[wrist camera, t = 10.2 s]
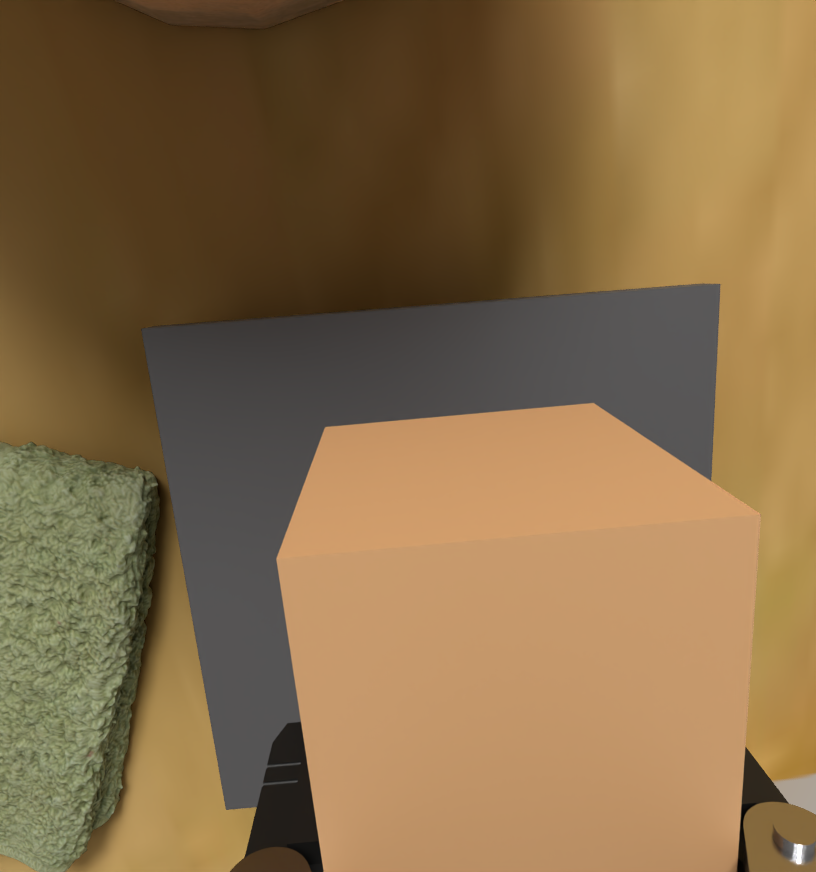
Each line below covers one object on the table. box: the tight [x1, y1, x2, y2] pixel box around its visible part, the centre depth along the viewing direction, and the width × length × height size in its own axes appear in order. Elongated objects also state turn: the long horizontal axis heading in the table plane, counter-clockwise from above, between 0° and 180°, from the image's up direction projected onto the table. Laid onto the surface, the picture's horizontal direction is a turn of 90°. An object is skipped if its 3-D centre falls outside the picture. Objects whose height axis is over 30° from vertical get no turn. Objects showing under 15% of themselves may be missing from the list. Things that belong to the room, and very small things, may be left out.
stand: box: [141, 284, 720, 810], centre depth 22 cm, size 16×16×5 cm
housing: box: [276, 403, 761, 872], centre depth 12 cm, size 11×6×6 cm, turn 5°
